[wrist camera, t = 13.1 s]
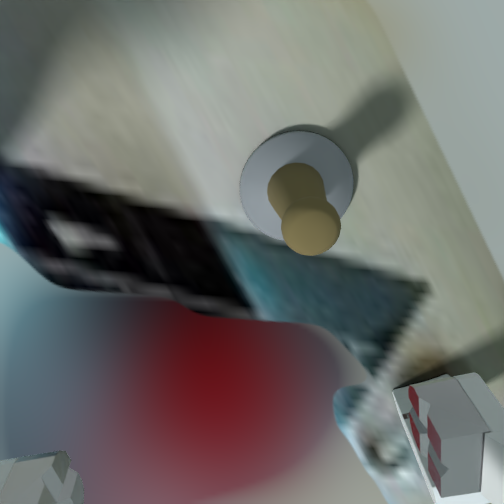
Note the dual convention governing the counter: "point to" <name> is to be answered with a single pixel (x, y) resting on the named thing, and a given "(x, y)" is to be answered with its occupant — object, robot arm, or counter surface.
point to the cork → (303, 209)
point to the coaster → (285, 152)
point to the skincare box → (459, 503)
